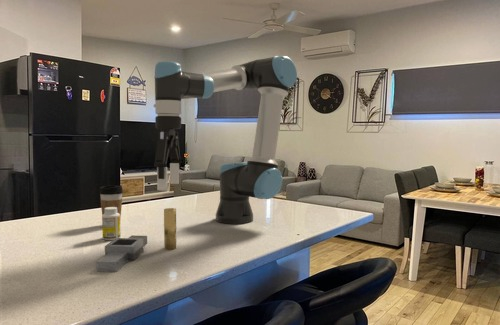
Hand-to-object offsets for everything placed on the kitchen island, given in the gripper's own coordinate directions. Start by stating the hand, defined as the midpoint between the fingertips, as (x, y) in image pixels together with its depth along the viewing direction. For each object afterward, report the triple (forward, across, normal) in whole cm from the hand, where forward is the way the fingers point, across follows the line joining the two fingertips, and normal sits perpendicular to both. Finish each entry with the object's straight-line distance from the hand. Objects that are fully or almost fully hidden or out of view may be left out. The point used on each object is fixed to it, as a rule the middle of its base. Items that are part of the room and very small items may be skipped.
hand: (168, 186), depth 115 cm
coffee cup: (+19, -26, -29) cm, 43 cm away
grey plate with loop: (+19, +8, -11) cm, 23 cm away
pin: (+19, 0, 0) cm, 19 cm away
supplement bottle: (+19, -9, -22) cm, 30 cm away
